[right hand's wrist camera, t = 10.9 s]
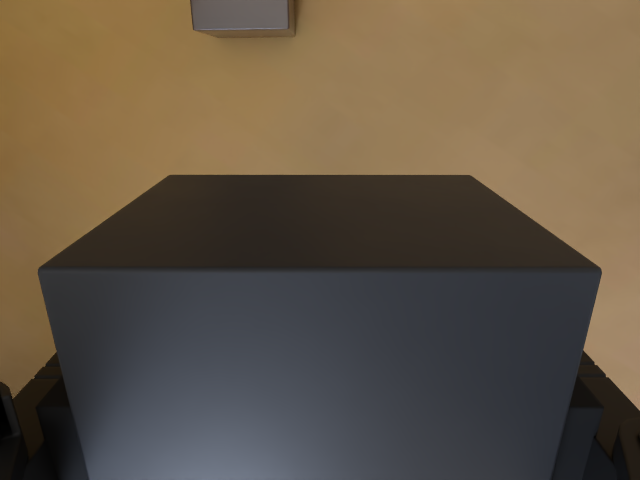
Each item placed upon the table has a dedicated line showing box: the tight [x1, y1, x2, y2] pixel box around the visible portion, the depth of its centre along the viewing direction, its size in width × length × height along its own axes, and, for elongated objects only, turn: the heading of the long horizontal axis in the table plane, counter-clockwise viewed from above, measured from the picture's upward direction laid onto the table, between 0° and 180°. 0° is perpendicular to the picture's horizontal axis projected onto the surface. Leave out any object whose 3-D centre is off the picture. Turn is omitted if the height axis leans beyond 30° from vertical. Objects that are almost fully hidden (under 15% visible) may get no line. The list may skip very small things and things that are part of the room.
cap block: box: [38, 175, 602, 480], centre depth 11 cm, size 8×8×6 cm
